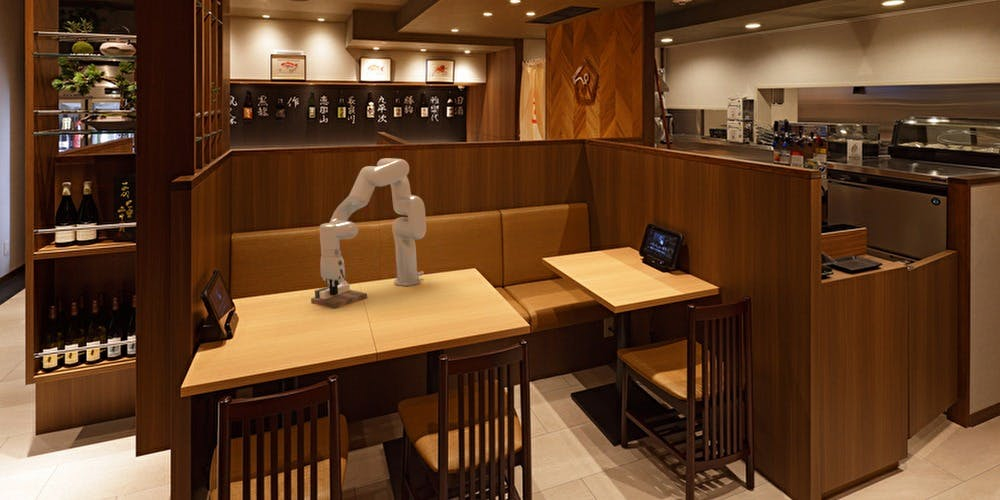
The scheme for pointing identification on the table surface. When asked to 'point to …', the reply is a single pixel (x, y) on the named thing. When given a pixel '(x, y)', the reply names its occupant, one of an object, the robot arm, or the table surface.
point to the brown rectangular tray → (338, 298)
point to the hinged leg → (341, 289)
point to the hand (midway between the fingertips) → (334, 294)
